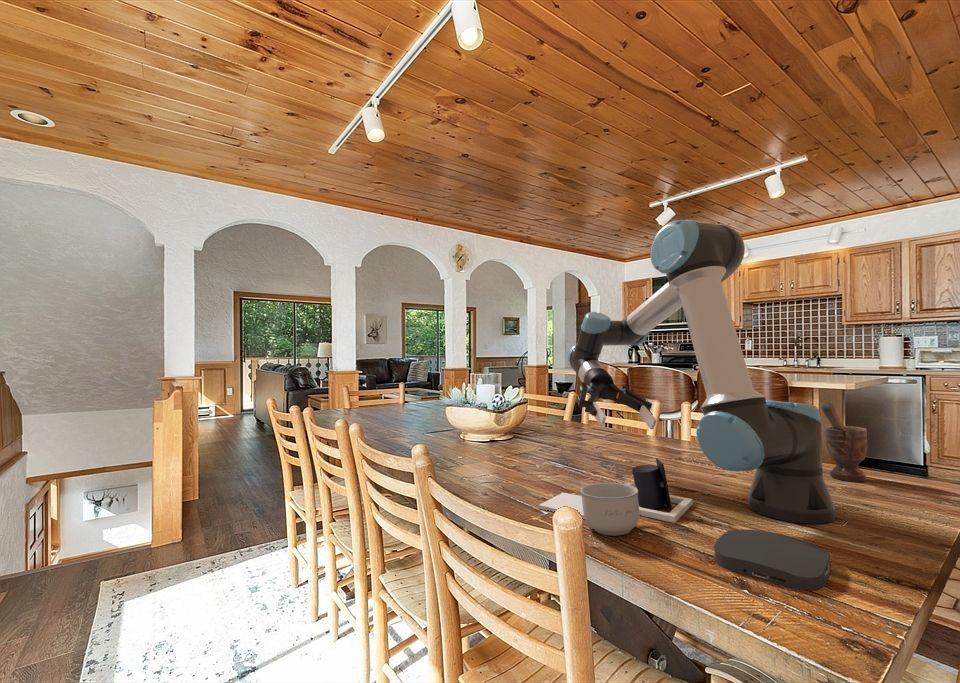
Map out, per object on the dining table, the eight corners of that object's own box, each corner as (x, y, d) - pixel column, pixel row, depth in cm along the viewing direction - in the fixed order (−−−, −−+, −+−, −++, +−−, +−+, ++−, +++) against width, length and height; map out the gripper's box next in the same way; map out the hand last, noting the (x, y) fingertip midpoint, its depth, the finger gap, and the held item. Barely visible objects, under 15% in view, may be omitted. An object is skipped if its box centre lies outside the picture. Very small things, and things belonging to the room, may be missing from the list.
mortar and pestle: (864, 487, 109) (860, 405, 110) (820, 480, 115) (816, 402, 116) (871, 478, 117) (868, 401, 117) (830, 472, 123) (827, 399, 124)
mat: (606, 504, 101) (606, 501, 101) (584, 519, 93) (584, 515, 93) (563, 495, 108) (563, 492, 108) (538, 508, 100) (538, 505, 100)
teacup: (609, 546, 80) (607, 500, 80) (570, 526, 89) (569, 485, 90) (664, 530, 86) (662, 488, 86) (622, 513, 96) (620, 475, 96)
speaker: (675, 503, 100) (668, 457, 101) (672, 513, 95) (665, 464, 96) (640, 502, 104) (633, 457, 104) (635, 511, 99) (628, 464, 99)
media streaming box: (733, 538, 83) (733, 521, 83) (834, 562, 73) (833, 543, 73) (707, 566, 72) (707, 547, 72) (821, 599, 62) (820, 577, 62)
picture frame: (692, 504, 100) (692, 498, 100) (674, 522, 90) (674, 516, 90) (633, 493, 109) (632, 488, 109) (610, 509, 98) (609, 503, 98)
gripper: (631, 392, 133) (668, 438, 114) (551, 387, 127) (577, 433, 109) (639, 370, 129) (679, 413, 111) (558, 363, 124) (585, 407, 105)
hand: (629, 423), depth 110 cm, fingers open, 13 cm apart
